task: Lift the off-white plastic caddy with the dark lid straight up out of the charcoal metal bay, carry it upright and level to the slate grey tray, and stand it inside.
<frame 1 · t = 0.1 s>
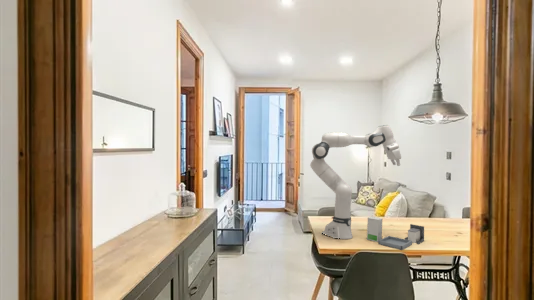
hand: (396, 165, 213), 52 cm above the table, tool tilted 20°, fingers open, 8 cm apart
tray: (395, 244, 200), on the table
skincare box: (374, 240, 210), on the table
bay: (413, 241, 207), on the table
caddy: (413, 241, 207), on the table
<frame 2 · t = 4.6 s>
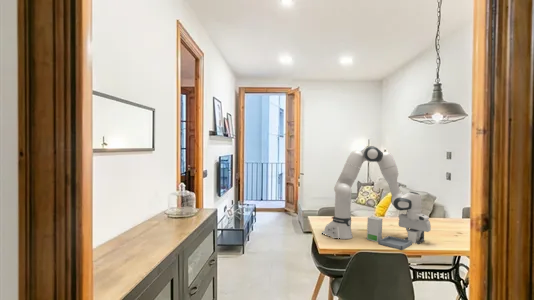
hand: (414, 235, 207), 4 cm above the table, tool pointing down, fingers closed on caddy, 5 cm apart
caddy: (413, 241, 207), on the table, touching gripper
everything else where it was.
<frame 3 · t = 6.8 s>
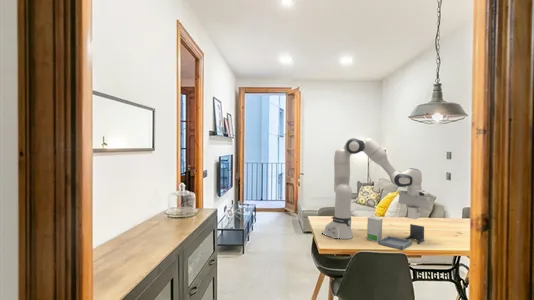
hand: (413, 212, 207), 20 cm above the table, tool pointing down, fingers closed on caddy, 5 cm apart
caddy: (413, 217, 207), point 16 cm above the table, touching gripper
everything else where it was.
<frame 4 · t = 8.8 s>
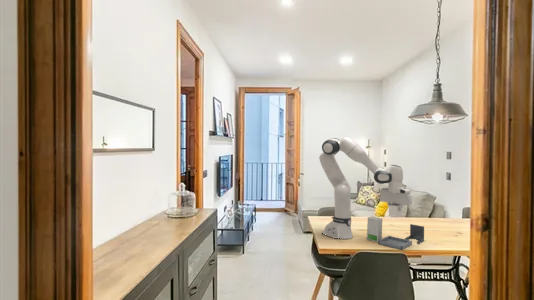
hand: (395, 210, 200), 23 cm above the table, tool pointing down, fingers closed on caddy, 5 cm apart
caddy: (395, 215, 200), point 19 cm above the table, touching gripper
everything else where it was.
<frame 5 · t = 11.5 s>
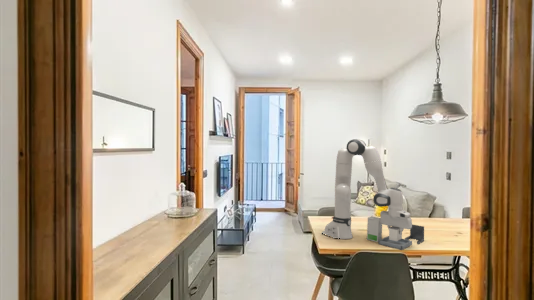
hand: (395, 233, 200), 7 cm above the table, tool pointing down, fingers closed on caddy, 5 cm apart
caddy: (395, 239, 200), point 4 cm above the table, touching gripper
everything else where it was.
when the fingers open (4 cm above the table, at t = 13.5 s): caddy stays where it is, resting on tray.
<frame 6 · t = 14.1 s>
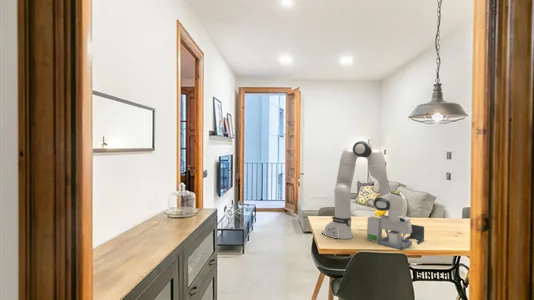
hand: (395, 237, 200), 4 cm above the table, tool pointing down, fingers open, 8 cm apart
caddy: (395, 243, 200), point 1 cm above the table, touching tray
everything else where it was.
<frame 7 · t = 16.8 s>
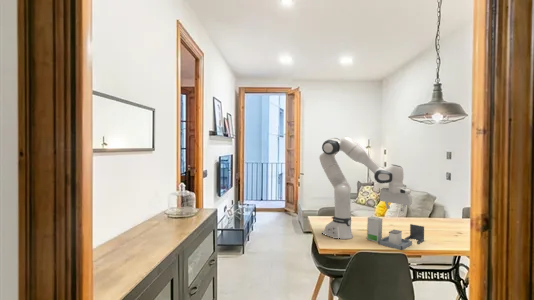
hand: (395, 209, 200), 23 cm above the table, tool pointing down, fingers open, 8 cm apart
nothing on the table moved.
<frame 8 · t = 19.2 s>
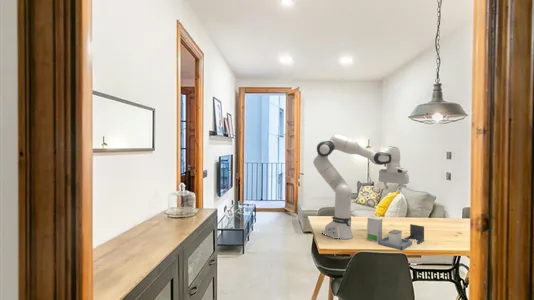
hand: (393, 189, 211), 35 cm above the table, tool pointing down, fingers open, 8 cm apart
nothing on the table moved.
at the end: caddy inside the target area on the tray (0.1 cm from its centre), point 0.6 cm above the tray's base; caddy tilted 0°; the gripper is holding nothing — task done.
